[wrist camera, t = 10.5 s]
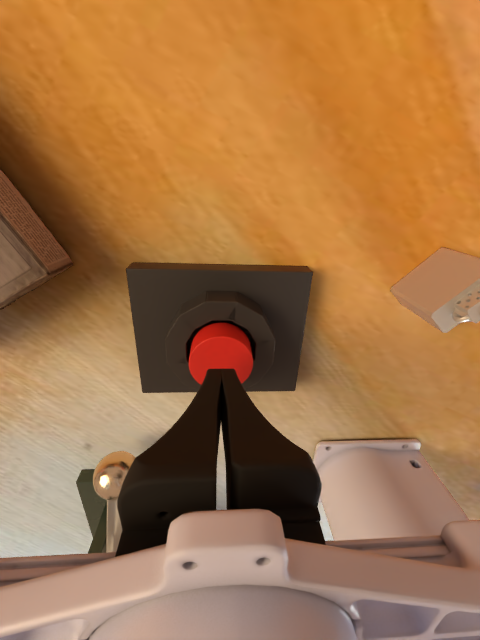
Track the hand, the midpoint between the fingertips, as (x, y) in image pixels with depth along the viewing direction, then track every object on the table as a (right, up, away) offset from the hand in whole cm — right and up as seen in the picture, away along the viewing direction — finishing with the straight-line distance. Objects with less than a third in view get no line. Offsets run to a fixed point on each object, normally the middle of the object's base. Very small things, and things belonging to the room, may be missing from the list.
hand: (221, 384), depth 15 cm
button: (0, +2, +3) cm, 4 cm away
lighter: (+14, +7, +5) cm, 17 cm away
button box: (0, +3, +6) cm, 6 cm away
